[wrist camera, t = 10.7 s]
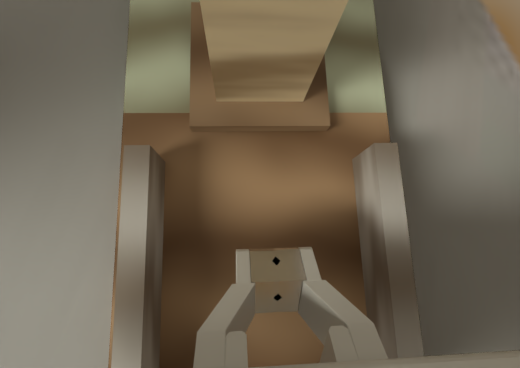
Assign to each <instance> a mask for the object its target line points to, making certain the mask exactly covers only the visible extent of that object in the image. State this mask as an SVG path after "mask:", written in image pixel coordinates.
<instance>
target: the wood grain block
mask: <svg viewBox="0 0 520 368" xmlns="http://www.w3.org/2000/svg"><path fill="white" fill-rule="evenodd" d="M347 3H348V0H200V2H191V47H190V118H189V127H190V129H191V131H192V132H227V131H327V130H328V128H329V127H330V115H329V103H328V91H327V78H326V66H325V52H326V49H327V47H328V45H329V43H330V40H331V38H332V36H333V34H334V32H335V29H336V27H337V25H338V23H339V20H340V18H341V16H342V14H343V12H344V9H345V7H346V5H347Z"/></svg>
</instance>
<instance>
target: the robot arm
mask: <svg viewBox="0 0 520 368" xmlns="http://www.w3.org/2000/svg"><path fill="white" fill-rule="evenodd" d="M270 312H298V313H299V314H300V316H301V317H302V318H303V319H304V321H305V322H306V323H307V325H308V326H309V327H310V328H311V330H312V331H313V332H314V333H315V335H316V336H317V337H318V339H319V340H320V341H321V342H322V344H323V345H324V348H323V352H322V355H321V359H320V362H319V363H311V364H296V365H281V366H266V367H250V368H520V350H514V351H499V352H483V353H467V354H452V355H436V356H421V357H405V358H390V359H388V357H387V354H386V352H385V350H384V347H383V345H382V342H381V340H380V337H379V335H378V333H377V330H376V328H375V325H374V323H373V322H372V321H371V320H370V319H369V318H367V317H366V316H365V315H364V314H363V313H362V312H361V311H360V310H359V309H357V308H356V307H355V306H354V305H353V304H352V303H351V302H350V301H348V300H347V299H346V298H345V297H344V296H343V295H342V294H341V293H340V292H338V291H337V290H336V289H335V288H334V287H333V286H332V285H331V284H330V283H328V282H327V281H326V280H322V279H321V276H320V272H319V269H318V266H317V262H316V259H315V256H314V252H313V249H312V248H311V247H292V248H273V249H236V284H232V285H231V286H230V288H229V289H228V290H227V292H226V293H225V295H224V296H223V297H222V299H221V300H220V301H219V303H218V304H217V306H216V307H215V308H214V310H213V311H212V312H211V314H210V315H209V317H208V318H207V319H206V321H205V322H204V323H203V325H202V326H201V328H200V329H199V330H198V332H197V338H196V347H195V356H194V364H193V368H248V356H247V334H245V333H246V331H247V329H248V327H249V325H250V323H251V321H252V319H253V317H254V315H255V314H258V313H270Z"/></svg>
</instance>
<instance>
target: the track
mask: <svg viewBox="0 0 520 368" xmlns="http://www.w3.org/2000/svg"><path fill="white" fill-rule="evenodd" d="M191 2H200V0H130V11H129V28H128V45H127V62H126V78H125V95H124V112H123V129H122V146H121V163H120V179H119V196H118V213H117V230H116V247H115V264H114V280H113V297H112V314H111V331H110V348H109V364H108V368H193V364H194V356H195V347H196V338H197V332H198V330H199V329H200V328H201V326H202V325H203V323H204V322H205V321H206V319H207V318H208V317H209V315H210V314H211V312H212V311H213V310H214V308H215V307H216V306H217V304H218V303H219V301H220V300H221V299H222V297H223V296H224V295H225V293H226V292H227V290H228V289H229V288H230V286H231V285H232V284H236V249H273V248H292V247H311V248H312V249H313V252H314V256H315V259H316V262H317V266H318V269H319V272H320V276H321V279H322V280H326V281H327V282H328V283H330V284H331V285H332V286H333V287H334V288H335V289H336V290H337V291H338V292H340V293H341V294H342V295H343V296H344V297H345V298H346V299H347V300H348V301H350V302H351V303H352V304H353V305H354V306H355V307H356V308H357V309H359V310H360V311H361V312H362V313H363V314H364V315H365V316H366V317H367V318H369V319H370V320H371V321H372V322H373V323H374V325H375V328H376V330H377V333H378V335H379V337H380V340H381V342H382V345H383V347H384V350H385V352H386V354H387V357H388V359H390V358H405V357H421V356H424V351H423V343H422V335H421V327H420V319H419V311H418V303H417V295H416V287H415V280H414V272H413V264H412V256H411V248H410V240H409V232H408V224H407V216H406V208H405V200H404V192H403V184H402V176H401V168H400V160H399V152H398V145H397V143H390V136H389V127H388V119H387V111H386V103H385V94H384V86H383V78H382V70H381V61H380V53H379V45H378V37H377V28H376V20H375V12H374V4H373V0H348V3H347V5H346V7H345V9H344V12H343V14H342V16H341V18H340V20H339V23H338V25H337V27H336V29H335V32H334V34H333V36H332V38H331V40H330V43H329V45H328V47H327V49H326V52H325V66H326V78H327V91H328V103H329V115H330V127H329V128H328V130H327V131H227V132H192V131H191V129H190V127H189V118H190V47H191ZM245 334H247V356H248V368H250V367H266V366H281V365H296V364H311V363H319V362H320V359H321V355H322V352H323V348H324V345H323V344H322V342H321V341H320V340H319V339H318V337H317V336H316V335H315V333H314V332H313V331H312V330H311V328H310V327H309V326H308V325H307V323H306V322H305V321H304V319H303V318H302V317H301V316H300V314H299V313H298V312H270V313H258V314H255V315H254V317H253V319H252V321H251V323H250V325H249V327H248V329H247V331H246V333H245Z"/></svg>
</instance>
